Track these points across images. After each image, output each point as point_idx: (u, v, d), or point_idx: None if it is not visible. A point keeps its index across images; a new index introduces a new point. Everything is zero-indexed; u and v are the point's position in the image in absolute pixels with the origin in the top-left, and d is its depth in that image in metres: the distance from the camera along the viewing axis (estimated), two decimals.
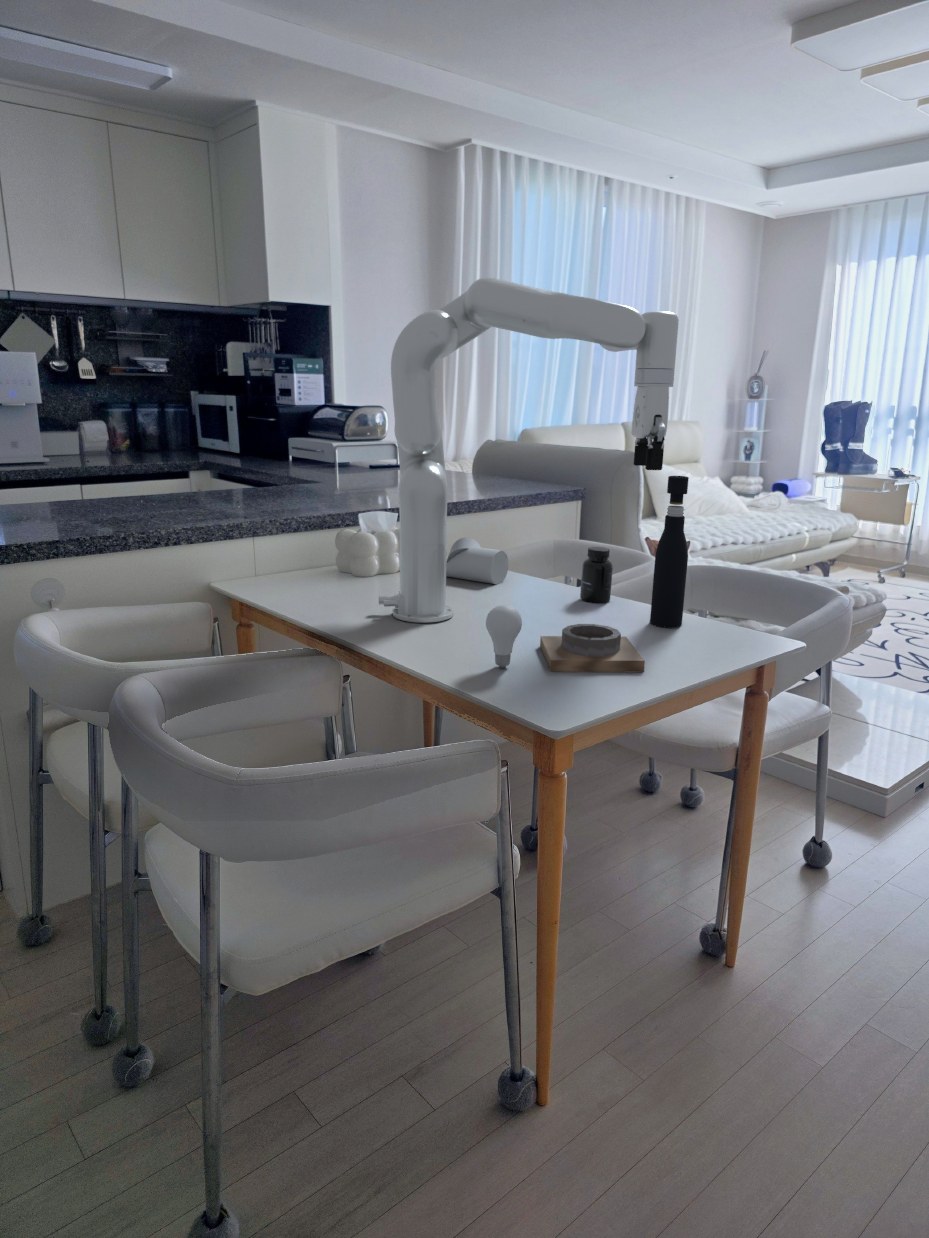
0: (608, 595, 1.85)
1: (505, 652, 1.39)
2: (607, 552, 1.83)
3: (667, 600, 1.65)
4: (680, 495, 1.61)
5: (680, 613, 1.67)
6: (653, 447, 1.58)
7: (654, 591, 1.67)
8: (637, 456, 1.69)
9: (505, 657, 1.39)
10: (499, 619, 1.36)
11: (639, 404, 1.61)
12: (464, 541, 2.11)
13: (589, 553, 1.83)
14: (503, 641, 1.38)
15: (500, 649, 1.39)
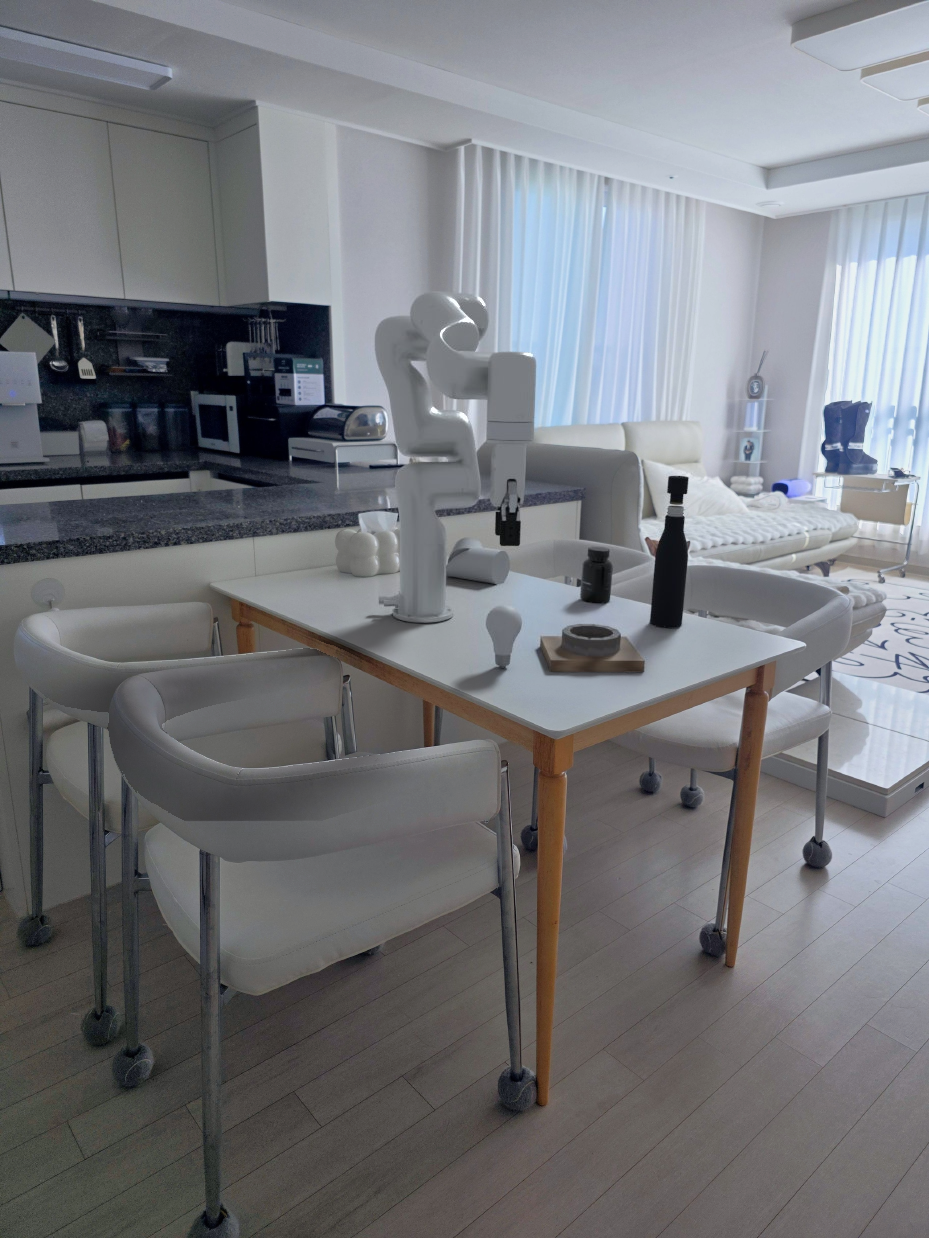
0: (608, 595, 1.85)
1: (505, 652, 1.39)
2: (607, 552, 1.83)
3: (667, 600, 1.65)
4: (681, 495, 1.61)
5: (680, 613, 1.67)
6: (506, 519, 1.28)
7: (654, 591, 1.67)
8: (498, 524, 1.39)
9: (505, 657, 1.39)
10: (499, 619, 1.36)
11: (492, 464, 1.31)
12: (466, 541, 2.11)
13: (589, 553, 1.83)
14: (503, 641, 1.38)
15: (500, 649, 1.39)
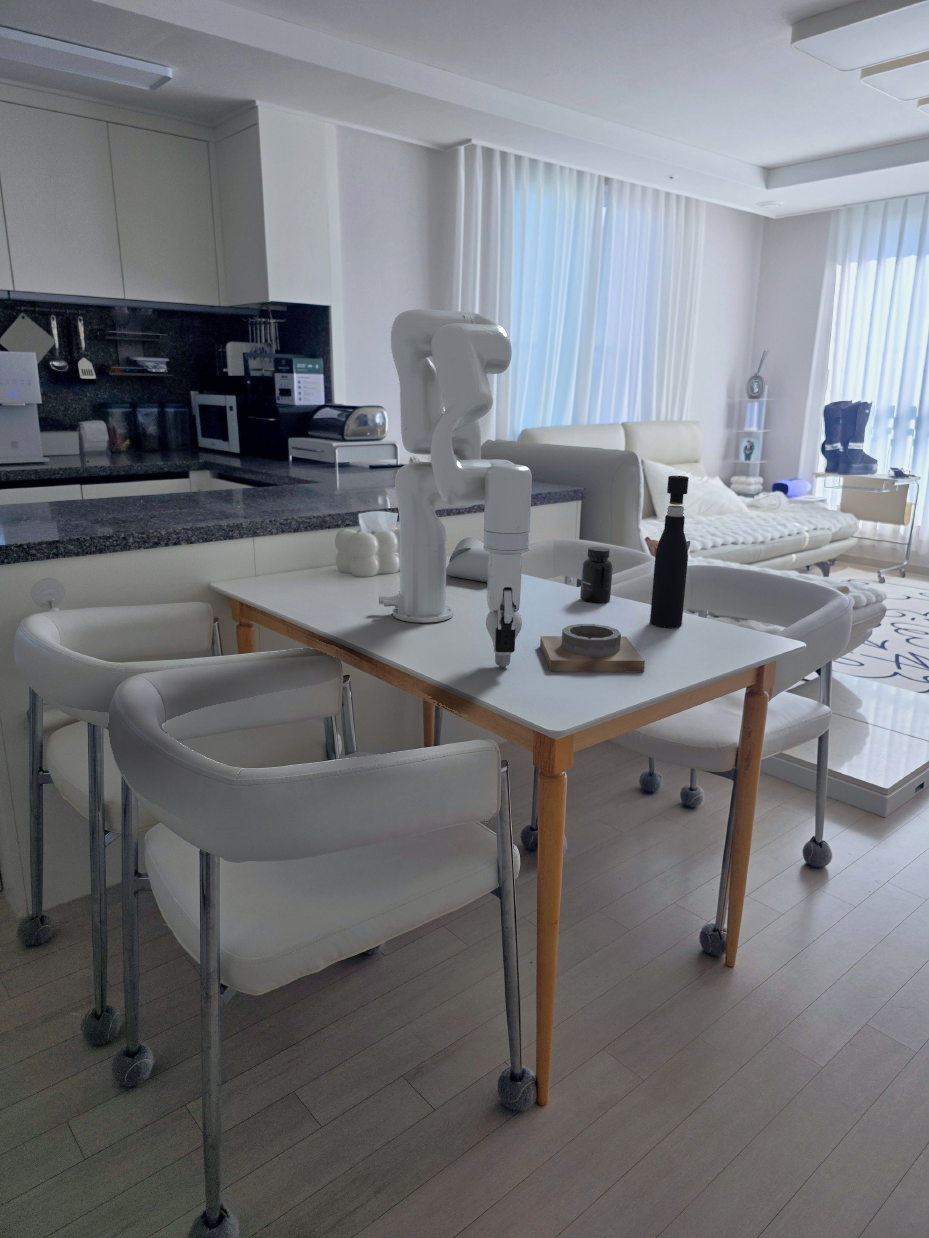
0: (608, 595, 1.85)
1: (505, 652, 1.39)
2: (607, 552, 1.83)
3: (667, 600, 1.65)
4: (681, 495, 1.61)
5: (680, 613, 1.67)
6: (501, 628, 1.34)
7: (654, 591, 1.67)
8: None
9: (505, 657, 1.39)
10: None
11: (489, 571, 1.35)
12: (468, 541, 2.11)
13: (589, 553, 1.83)
14: None
15: None
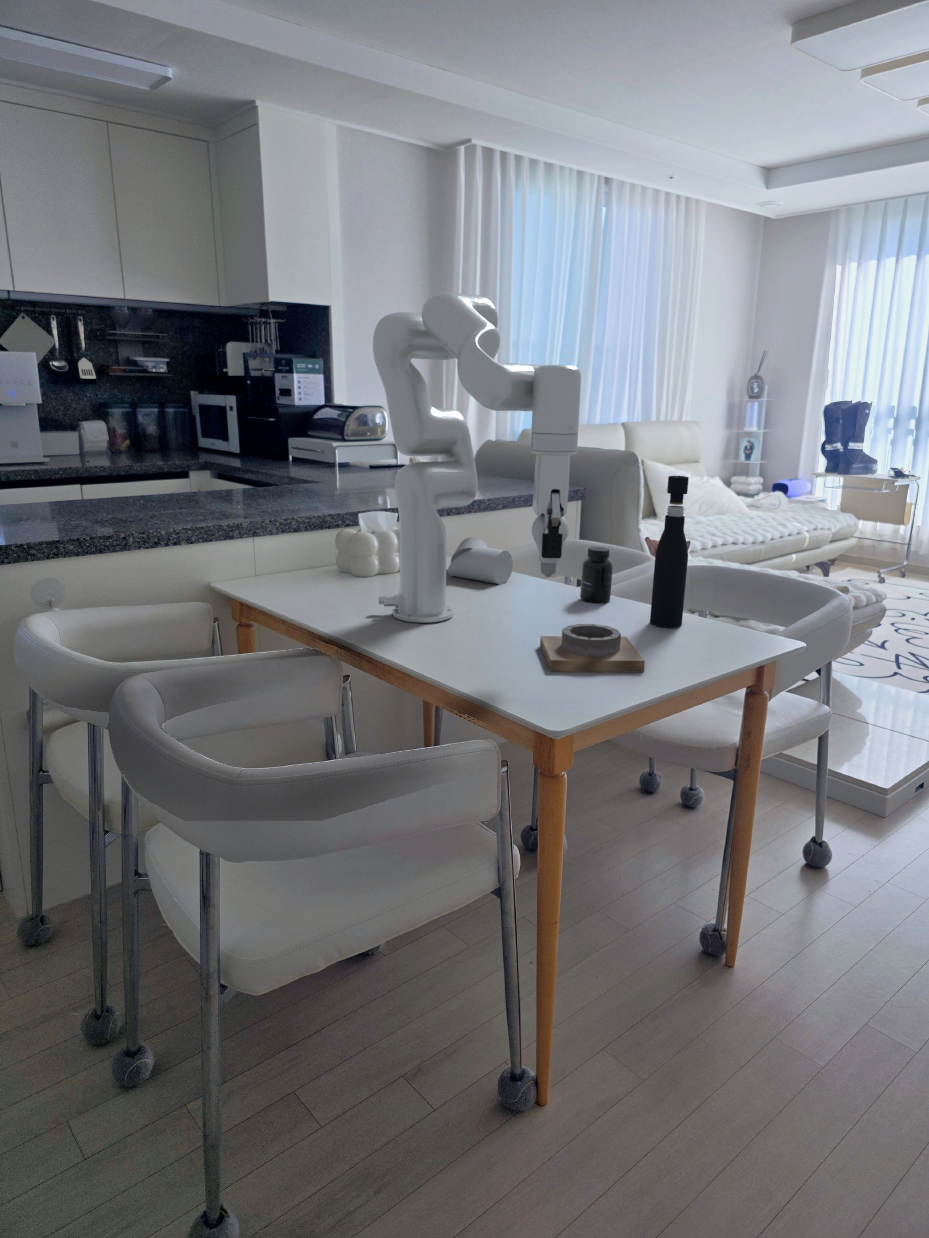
0: (608, 595, 1.85)
1: (551, 560, 1.37)
2: (607, 552, 1.83)
3: (667, 600, 1.65)
4: (681, 495, 1.61)
5: (680, 613, 1.67)
6: (548, 533, 1.33)
7: (654, 591, 1.67)
8: None
9: (551, 565, 1.38)
10: None
11: (536, 475, 1.34)
12: (470, 541, 2.11)
13: (589, 553, 1.83)
14: None
15: None
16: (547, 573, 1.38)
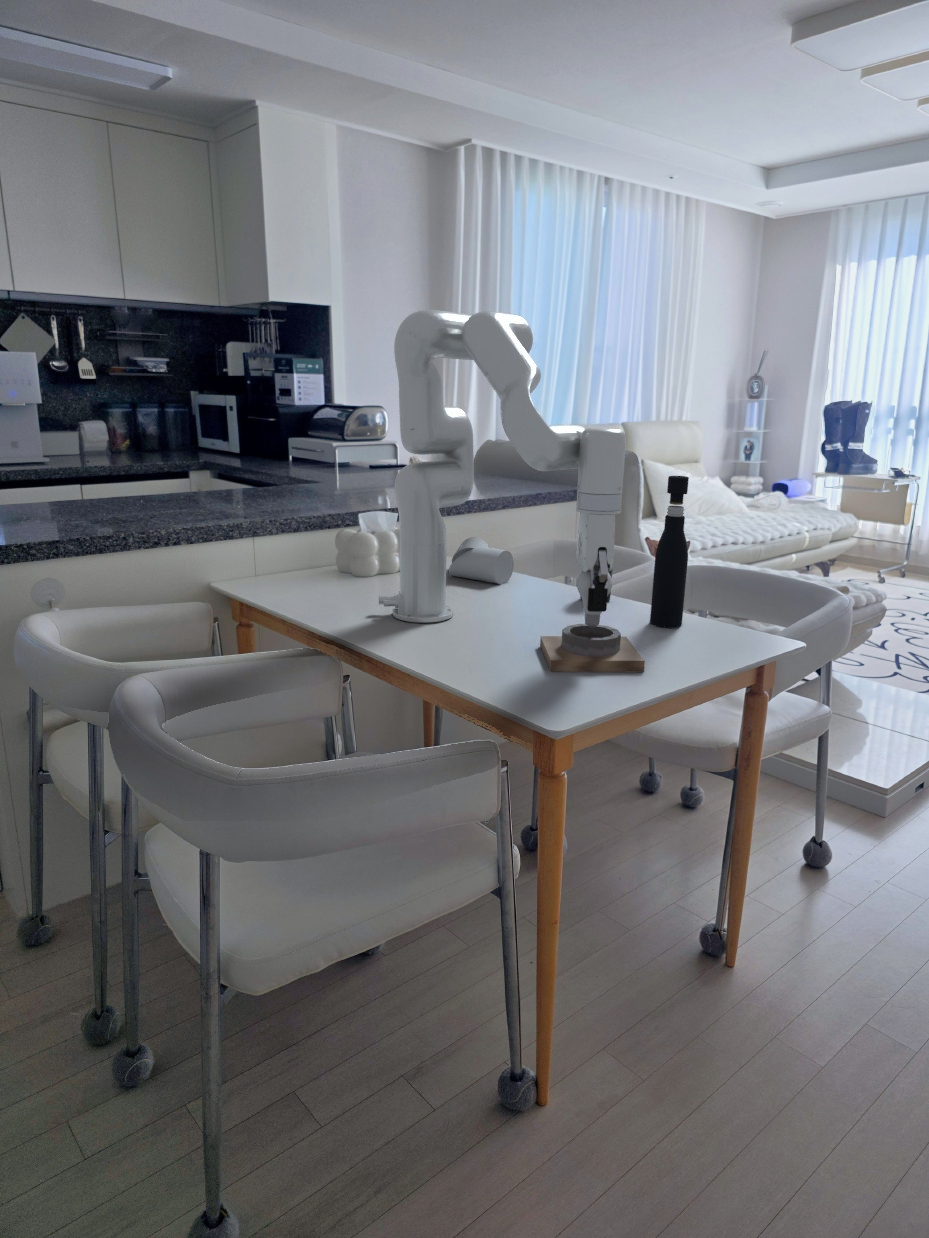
0: (608, 595, 1.85)
1: (596, 612, 1.43)
2: None
3: (667, 600, 1.65)
4: (681, 495, 1.61)
5: (680, 613, 1.67)
6: (595, 588, 1.38)
7: (654, 591, 1.67)
8: None
9: (596, 617, 1.43)
10: None
11: (582, 532, 1.39)
12: (471, 541, 2.11)
13: None
14: None
15: None
16: (591, 624, 1.44)
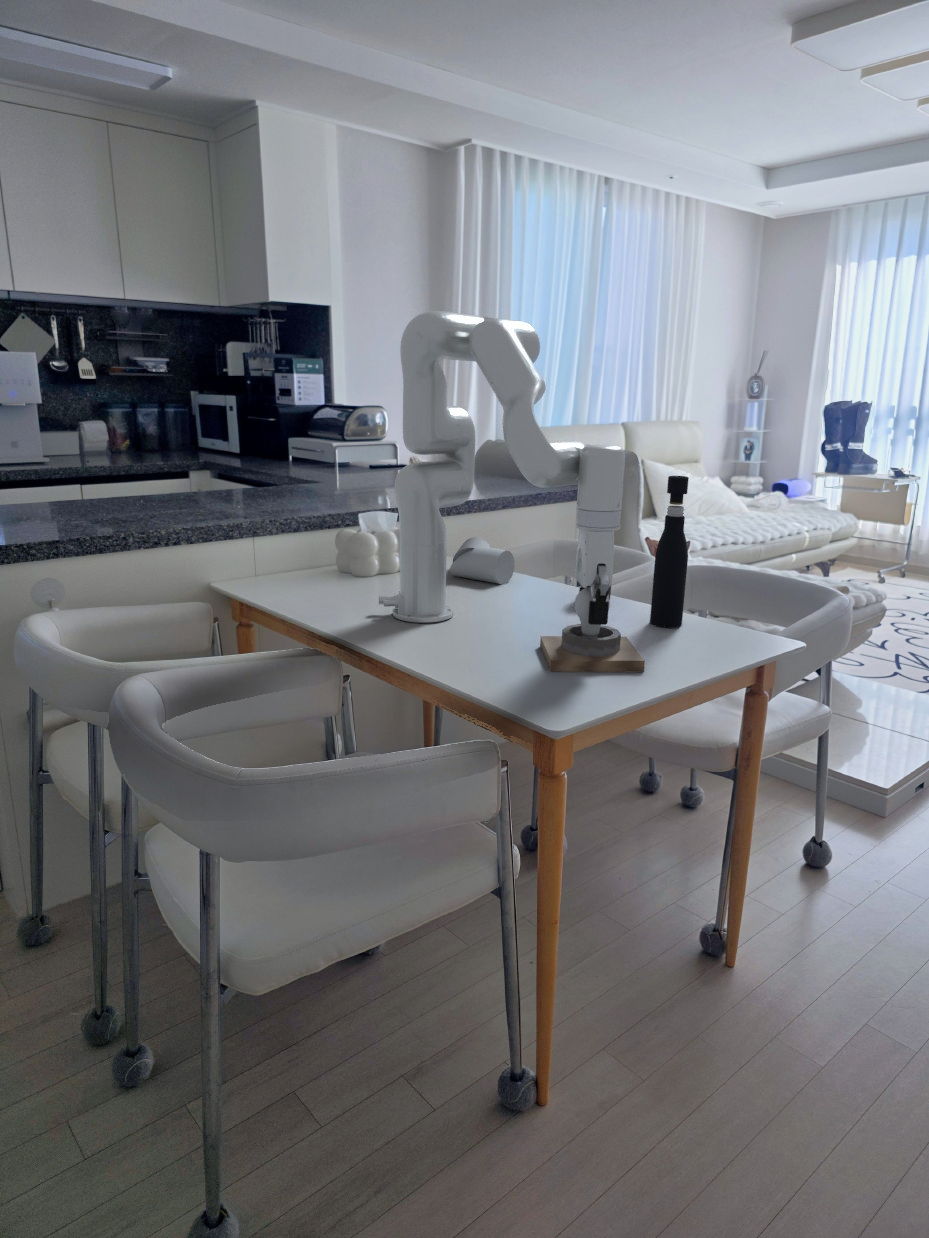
0: None
1: (593, 632, 1.44)
2: None
3: (667, 600, 1.65)
4: (680, 495, 1.61)
5: (680, 613, 1.67)
6: (596, 601, 1.37)
7: (654, 591, 1.67)
8: None
9: None
10: None
11: (581, 548, 1.40)
12: (472, 541, 2.11)
13: None
14: None
15: (589, 630, 1.44)
16: None
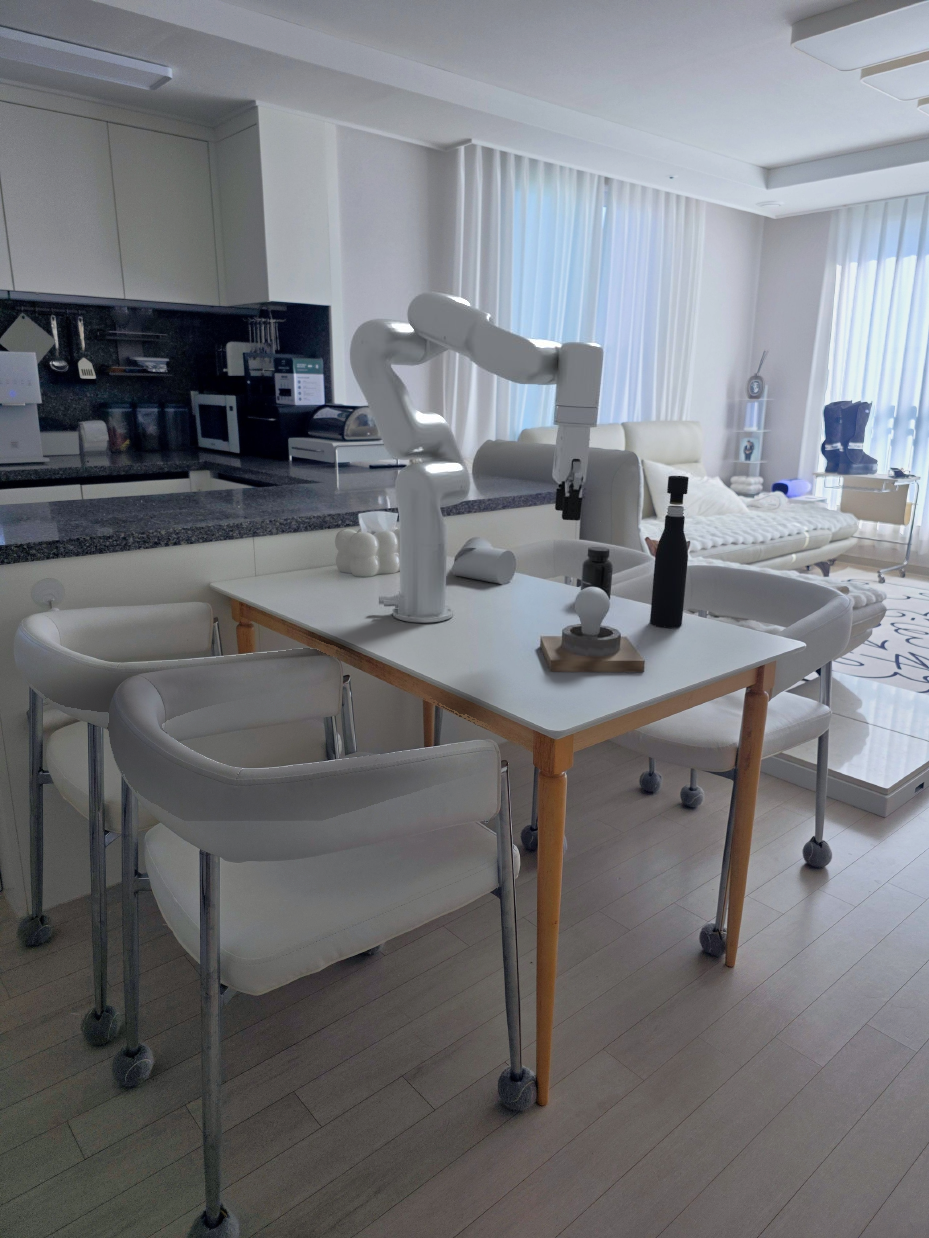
0: (608, 595, 1.85)
1: (593, 632, 1.44)
2: (607, 552, 1.83)
3: (667, 600, 1.65)
4: (681, 495, 1.61)
5: (680, 613, 1.67)
6: (569, 495, 1.41)
7: (654, 591, 1.67)
8: (558, 500, 1.51)
9: (593, 637, 1.44)
10: (589, 600, 1.41)
11: (558, 445, 1.43)
12: (474, 540, 2.12)
13: (589, 553, 1.83)
14: (592, 621, 1.43)
15: (589, 629, 1.44)
16: None
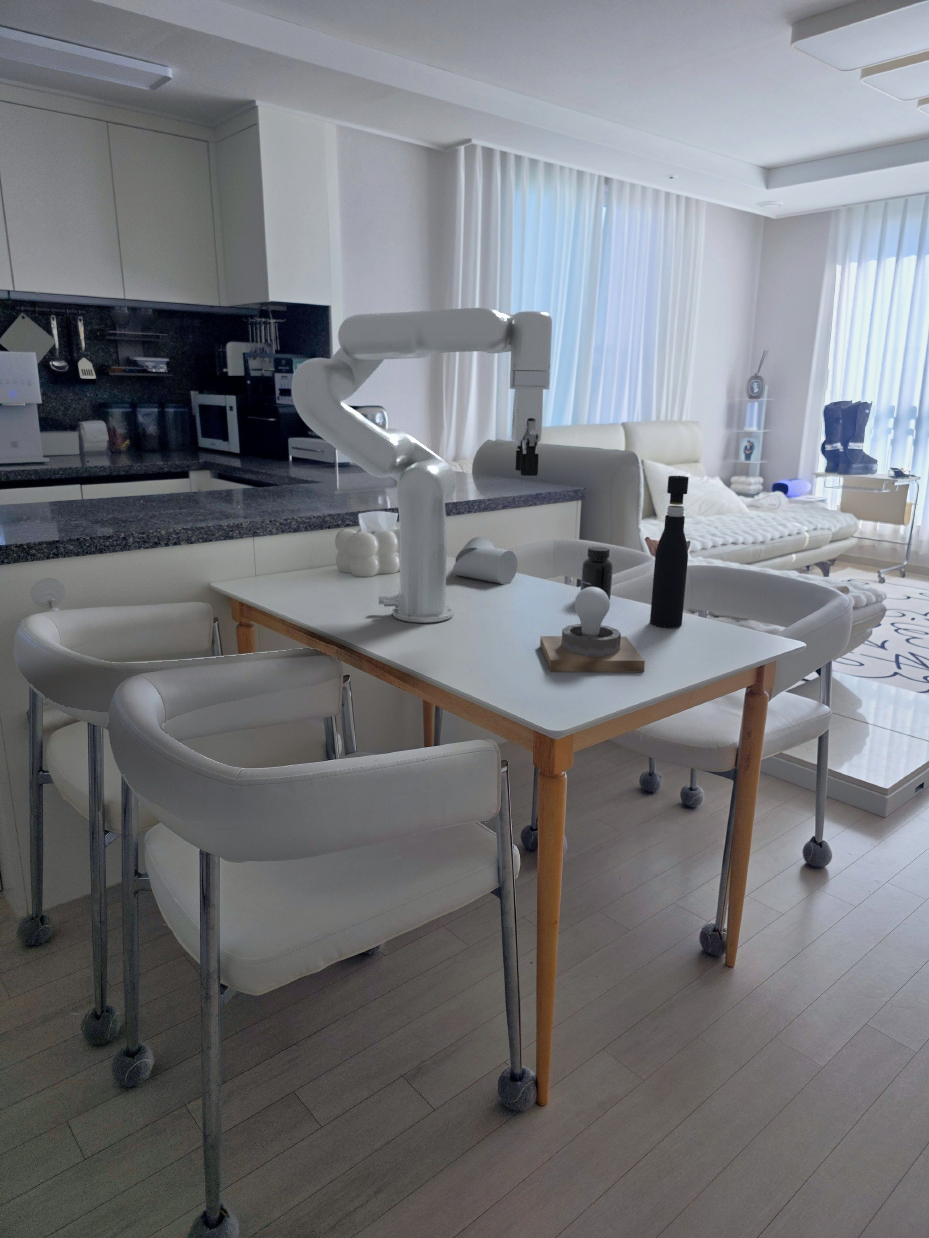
0: (608, 595, 1.85)
1: (593, 632, 1.44)
2: (607, 552, 1.83)
3: (667, 600, 1.65)
4: (681, 495, 1.61)
5: (680, 613, 1.67)
6: (526, 452, 1.53)
7: (654, 591, 1.67)
8: (518, 461, 1.64)
9: (593, 637, 1.44)
10: (589, 600, 1.41)
11: (514, 407, 1.55)
12: (476, 540, 2.12)
13: (589, 553, 1.83)
14: (592, 621, 1.43)
15: (589, 629, 1.44)
16: None
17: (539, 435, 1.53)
